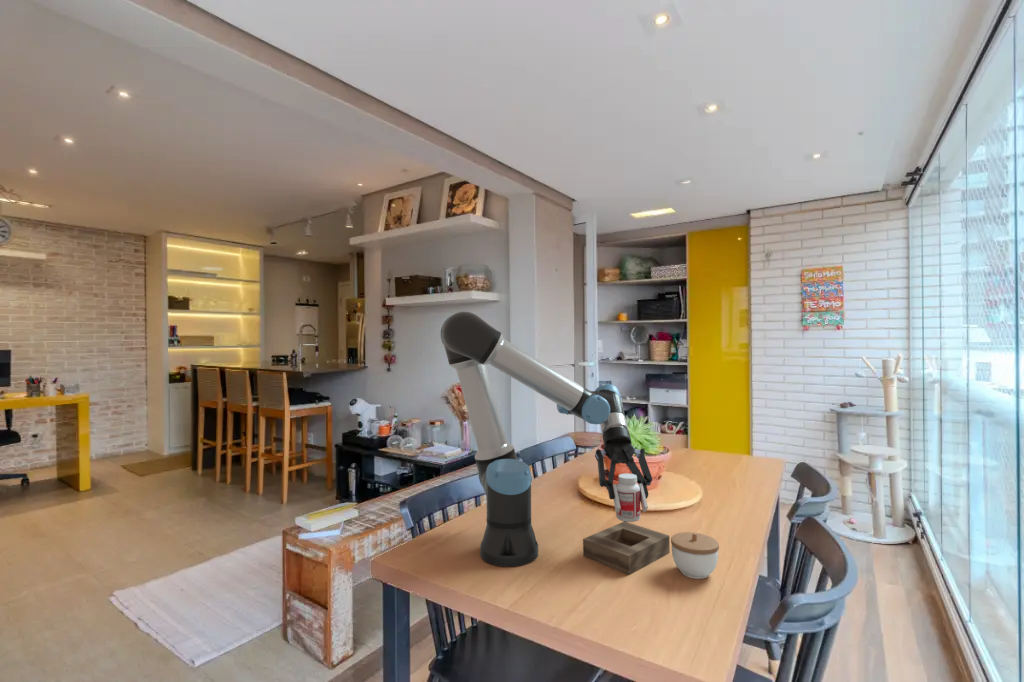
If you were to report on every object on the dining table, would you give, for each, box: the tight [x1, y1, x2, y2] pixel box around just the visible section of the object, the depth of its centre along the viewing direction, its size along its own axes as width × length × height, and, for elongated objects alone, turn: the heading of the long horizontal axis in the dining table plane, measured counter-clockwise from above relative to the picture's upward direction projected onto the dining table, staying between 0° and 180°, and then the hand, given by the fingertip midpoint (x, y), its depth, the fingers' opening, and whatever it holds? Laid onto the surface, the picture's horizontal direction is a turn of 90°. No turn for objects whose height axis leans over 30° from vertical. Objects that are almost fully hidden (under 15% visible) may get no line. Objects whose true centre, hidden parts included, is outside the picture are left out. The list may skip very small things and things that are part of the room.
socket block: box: [582, 521, 671, 576], centre depth 131 cm, size 18×14×4 cm
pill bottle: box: [615, 473, 642, 523], centre depth 131 cm, size 6×6×11 cm
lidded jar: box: [670, 531, 720, 580], centre depth 121 cm, size 11×11×9 cm
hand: (631, 509), depth 127 cm, fingers closed on pill bottle, 6 cm apart
